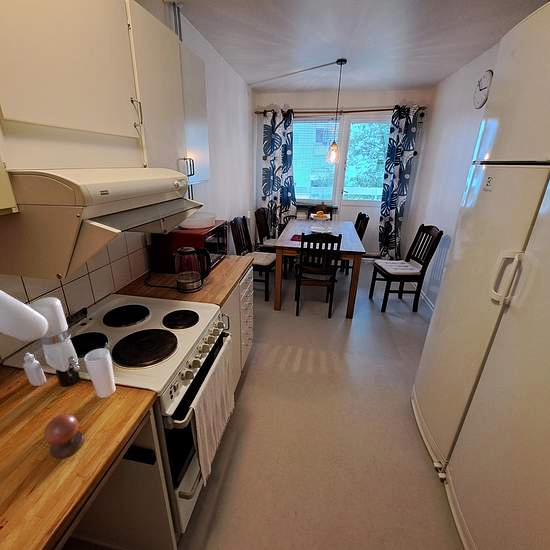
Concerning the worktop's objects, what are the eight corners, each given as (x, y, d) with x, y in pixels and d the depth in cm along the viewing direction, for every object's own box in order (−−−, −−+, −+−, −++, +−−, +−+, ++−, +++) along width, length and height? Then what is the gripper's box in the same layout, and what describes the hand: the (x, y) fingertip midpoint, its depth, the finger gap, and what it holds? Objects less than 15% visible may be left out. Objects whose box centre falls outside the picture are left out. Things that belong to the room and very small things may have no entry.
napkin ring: (66, 389, 94) (62, 377, 92) (56, 383, 96) (52, 371, 94) (83, 378, 99) (79, 366, 97) (73, 373, 101) (69, 361, 99)
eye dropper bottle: (45, 374, 100) (35, 346, 95) (47, 383, 96) (36, 354, 92) (29, 380, 97) (18, 351, 93) (30, 389, 93) (18, 360, 89)
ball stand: (62, 464, 71) (51, 436, 67) (45, 452, 74) (33, 425, 70) (90, 440, 77) (81, 413, 73) (73, 430, 80) (64, 404, 76)
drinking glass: (91, 392, 93) (80, 354, 87) (114, 381, 97) (104, 345, 92) (98, 404, 88) (87, 365, 83) (121, 392, 93) (112, 354, 87)
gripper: (26, 334, 91) (42, 379, 97) (59, 349, 84) (74, 396, 91) (51, 323, 97) (65, 366, 104) (84, 336, 90) (96, 381, 97)
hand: (69, 379), depth 97 cm, fingers closed on napkin ring, 5 cm apart
